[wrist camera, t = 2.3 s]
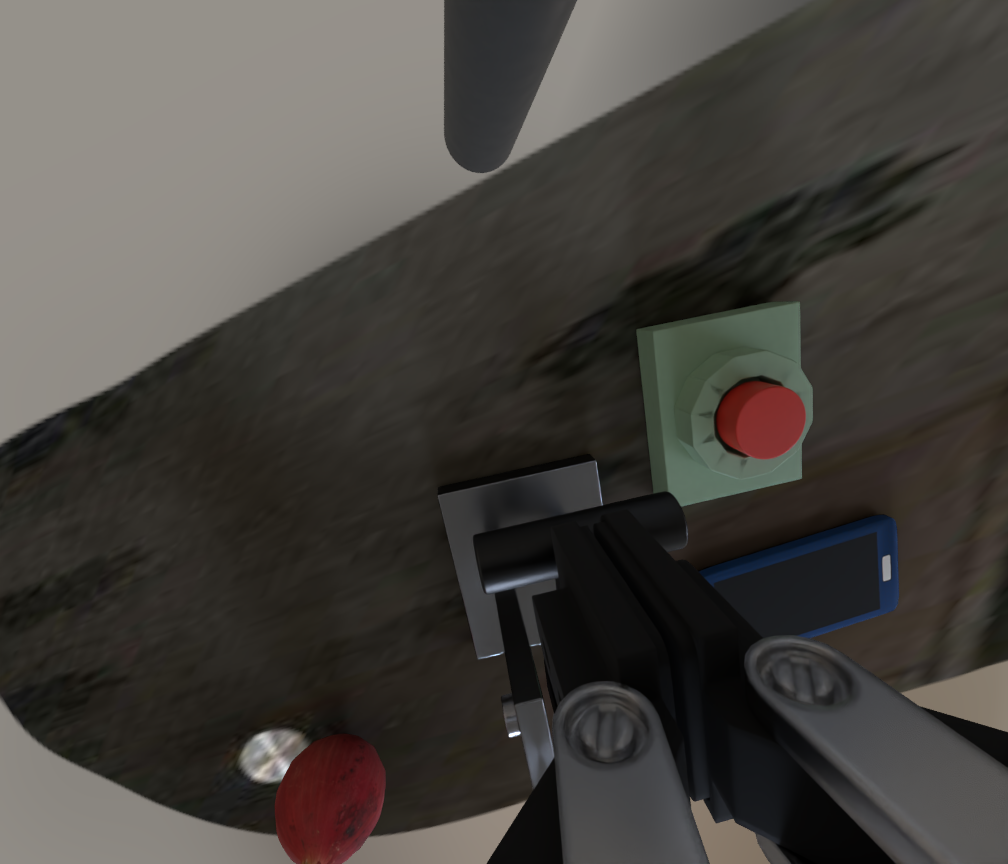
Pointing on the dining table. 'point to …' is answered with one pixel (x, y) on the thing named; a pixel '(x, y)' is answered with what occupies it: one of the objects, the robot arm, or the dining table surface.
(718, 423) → the red button
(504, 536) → the press lever
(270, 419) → the dining table surface
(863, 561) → the cell phone
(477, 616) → the lever bracket
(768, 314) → the button housing
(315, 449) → the dining table surface
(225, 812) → the dining table surface
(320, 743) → the onion
